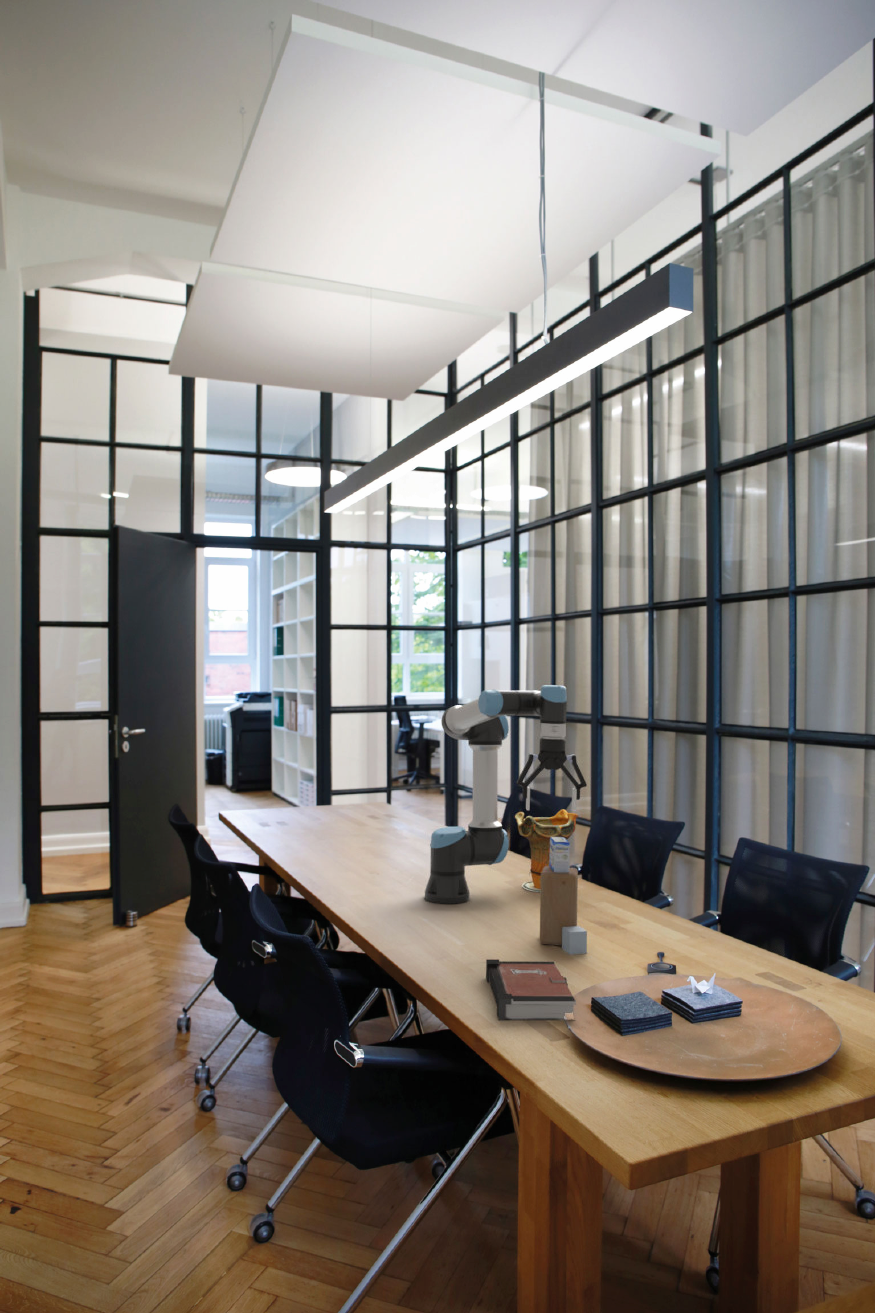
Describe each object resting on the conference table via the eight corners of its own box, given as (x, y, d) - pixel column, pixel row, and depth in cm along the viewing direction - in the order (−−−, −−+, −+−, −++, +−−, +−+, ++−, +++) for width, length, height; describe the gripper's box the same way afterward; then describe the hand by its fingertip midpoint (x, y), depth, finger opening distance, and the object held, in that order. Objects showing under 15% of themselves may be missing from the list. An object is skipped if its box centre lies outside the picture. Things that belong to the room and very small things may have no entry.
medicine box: (549, 866, 244) (549, 836, 245) (564, 867, 245) (564, 836, 245) (553, 873, 237) (554, 841, 237) (569, 873, 237) (570, 842, 237)
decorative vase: (501, 882, 307) (506, 805, 309) (556, 881, 316) (560, 805, 318) (530, 896, 288) (535, 813, 290) (587, 894, 297) (591, 814, 299)
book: (578, 1022, 183) (579, 999, 183) (498, 1022, 182) (498, 999, 182) (556, 980, 209) (556, 959, 209) (486, 980, 208) (486, 959, 209)
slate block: (569, 954, 228) (569, 932, 228) (562, 949, 233) (562, 927, 233) (586, 953, 229) (586, 931, 229) (578, 948, 234) (579, 926, 234)
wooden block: (575, 947, 234) (576, 875, 234) (539, 944, 236) (540, 872, 237) (577, 937, 244) (578, 867, 244) (542, 934, 246) (543, 865, 246)
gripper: (511, 737, 244) (509, 811, 244) (597, 740, 244) (595, 813, 244) (509, 735, 252) (507, 807, 252) (592, 737, 252) (591, 809, 251)
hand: (550, 810), depth 248 cm, fingers open, 13 cm apart
